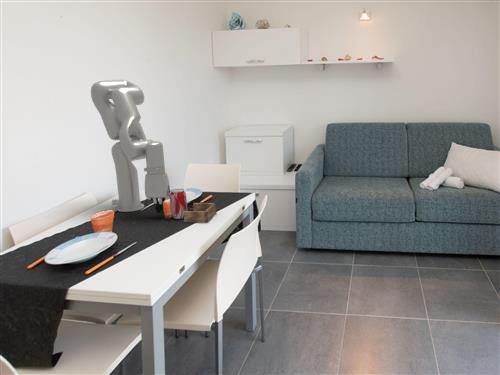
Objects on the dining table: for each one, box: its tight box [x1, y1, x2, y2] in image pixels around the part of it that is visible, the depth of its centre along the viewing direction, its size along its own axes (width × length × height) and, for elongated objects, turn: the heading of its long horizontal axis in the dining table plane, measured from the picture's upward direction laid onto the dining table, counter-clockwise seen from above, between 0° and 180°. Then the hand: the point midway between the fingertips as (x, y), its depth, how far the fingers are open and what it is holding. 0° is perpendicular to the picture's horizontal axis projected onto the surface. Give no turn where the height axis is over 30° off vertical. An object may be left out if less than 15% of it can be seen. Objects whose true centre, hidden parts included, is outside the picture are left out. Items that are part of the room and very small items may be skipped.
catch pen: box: [183, 202, 217, 224], centre depth 216 cm, size 10×14×4 cm
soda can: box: [169, 188, 188, 220], centre depth 217 cm, size 7×7×12 cm
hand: (159, 212), depth 219 cm, fingers closed
